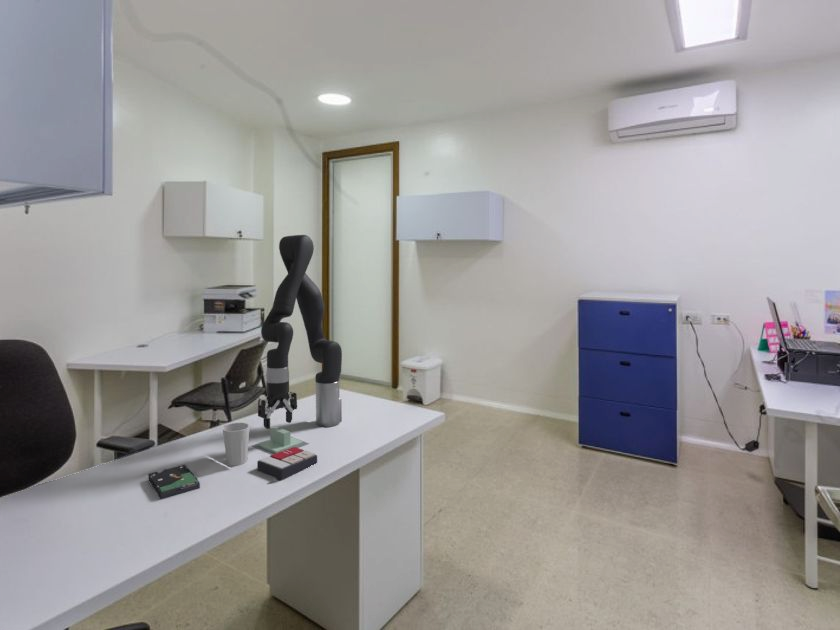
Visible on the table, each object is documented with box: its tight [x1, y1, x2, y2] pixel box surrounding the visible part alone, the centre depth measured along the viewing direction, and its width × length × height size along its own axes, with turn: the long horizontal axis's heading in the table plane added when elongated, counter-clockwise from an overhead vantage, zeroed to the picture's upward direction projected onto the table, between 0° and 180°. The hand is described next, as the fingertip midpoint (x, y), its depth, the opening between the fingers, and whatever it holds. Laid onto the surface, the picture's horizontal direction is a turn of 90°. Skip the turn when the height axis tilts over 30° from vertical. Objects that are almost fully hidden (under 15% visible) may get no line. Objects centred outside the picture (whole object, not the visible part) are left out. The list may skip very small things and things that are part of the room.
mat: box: [251, 435, 310, 455], centre depth 168 cm, size 14×14×1 cm
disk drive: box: [148, 464, 201, 500], centre depth 140 cm, size 10×3×15 cm
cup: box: [222, 422, 250, 468], centre depth 154 cm, size 8×8×12 cm
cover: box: [256, 426, 303, 453], centre depth 168 cm, size 11×11×5 cm
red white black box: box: [256, 447, 318, 481], centre depth 152 cm, size 11×4×15 cm
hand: (278, 425), depth 167 cm, fingers open, 8 cm apart
